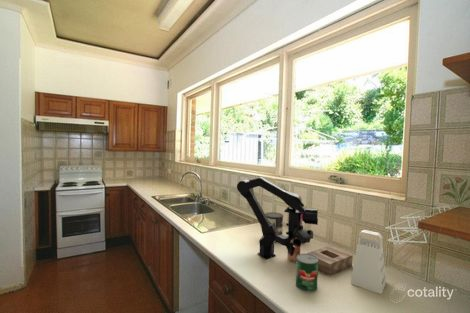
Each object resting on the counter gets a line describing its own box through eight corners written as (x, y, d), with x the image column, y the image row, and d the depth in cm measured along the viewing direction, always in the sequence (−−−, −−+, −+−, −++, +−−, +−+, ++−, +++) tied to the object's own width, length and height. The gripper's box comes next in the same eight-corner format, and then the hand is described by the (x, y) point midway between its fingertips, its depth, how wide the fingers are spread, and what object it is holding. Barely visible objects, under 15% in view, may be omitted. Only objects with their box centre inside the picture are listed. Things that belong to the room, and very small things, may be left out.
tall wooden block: (295, 262, 112) (295, 247, 111) (287, 258, 116) (287, 243, 115) (299, 261, 113) (300, 246, 113) (291, 256, 117) (292, 242, 117)
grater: (357, 272, 103) (359, 226, 103) (386, 281, 97) (388, 232, 96) (350, 283, 95) (352, 232, 94) (381, 294, 89) (383, 239, 88)
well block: (329, 276, 100) (330, 264, 100) (306, 263, 110) (306, 253, 110) (352, 266, 109) (352, 255, 109) (328, 255, 119) (329, 245, 119)
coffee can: (281, 235, 144) (281, 212, 144) (284, 242, 134) (284, 217, 134) (263, 235, 145) (264, 211, 144) (265, 242, 134) (265, 217, 134)
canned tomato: (302, 294, 88) (303, 264, 87) (291, 282, 95) (292, 254, 95) (321, 290, 90) (322, 261, 90) (309, 279, 98) (310, 252, 97)
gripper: (293, 230, 102) (292, 267, 103) (322, 223, 112) (321, 257, 113) (274, 223, 111) (274, 257, 112) (303, 217, 121) (302, 248, 122)
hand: (293, 255), depth 114 cm, fingers closed on tall wooden block, 3 cm apart
